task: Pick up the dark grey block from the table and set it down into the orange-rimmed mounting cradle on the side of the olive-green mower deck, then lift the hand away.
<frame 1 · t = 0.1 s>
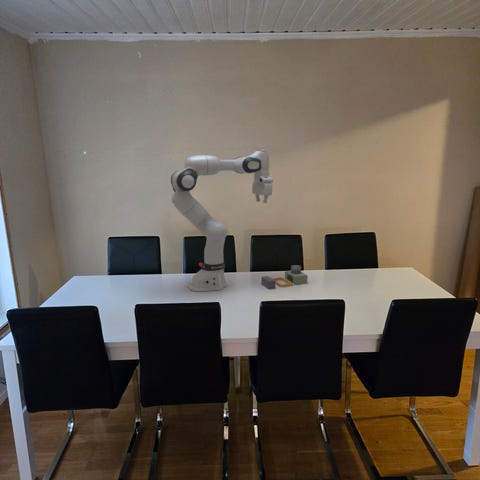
hand: (261, 202, 228), 48 cm above the table, tool pointing down, fingers open, 8 cm apart
dark grey block: (268, 286, 223), on the table
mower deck: (287, 282, 230), on the table
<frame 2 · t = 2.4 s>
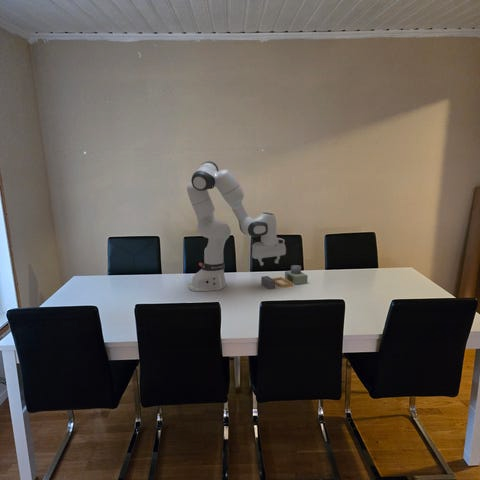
hand: (269, 264, 220), 13 cm above the table, tool pointing down, fingers open, 8 cm apart
nothing on the table moved.
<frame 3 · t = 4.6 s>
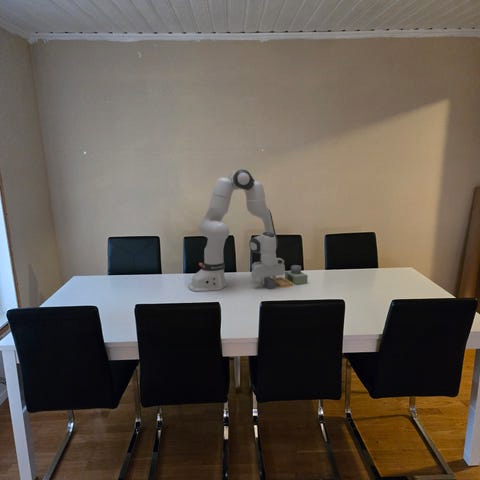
hand: (268, 283, 222), 2 cm above the table, tool pointing down, fingers closed on dark grey block, 4 cm apart
dark grey block: (268, 286, 223), on the table, touching gripper
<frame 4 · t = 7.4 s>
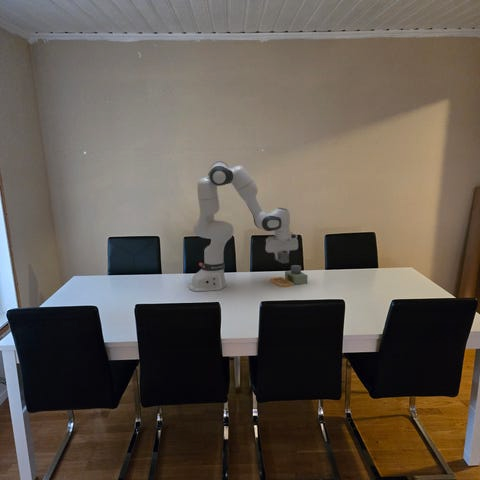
hand: (281, 258, 226), 15 cm above the table, tool pointing down, fingers closed on dark grey block, 4 cm apart
dark grey block: (281, 261, 226), point 14 cm above the table, touching gripper
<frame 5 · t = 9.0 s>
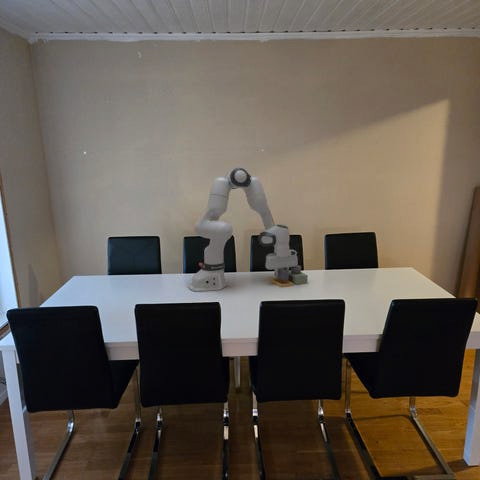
hand: (281, 274, 228), 5 cm above the table, tool pointing down, fingers closed on dark grey block, 4 cm apart
dark grey block: (281, 277, 229), point 3 cm above the table, touching gripper
when the fingers open (4 cm above the table, at t = 10.2 s): dark grey block drops 2 cm, resting in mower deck.
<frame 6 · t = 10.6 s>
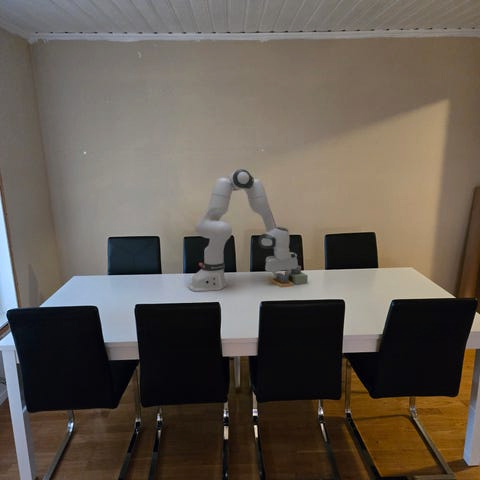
hand: (281, 277, 228), 4 cm above the table, tool pointing down, fingers open, 6 cm apart
dark grey block: (281, 283, 229), resting in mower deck
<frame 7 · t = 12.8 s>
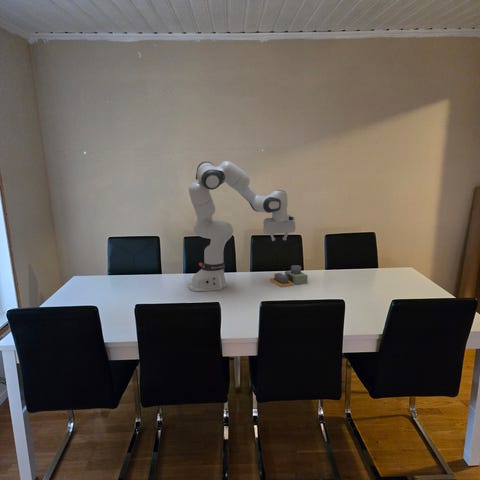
hand: (279, 240, 229), 25 cm above the table, tool pointing down, fingers open, 6 cm apart
nothing on the table moved.
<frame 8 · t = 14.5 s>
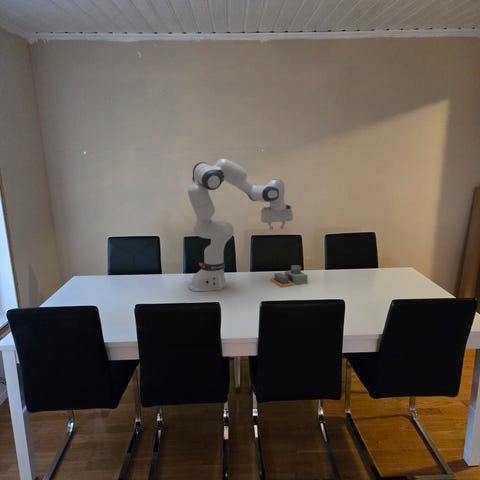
hand: (276, 229, 233), 31 cm above the table, tool pointing down, fingers open, 6 cm apart
nothing on the table moved.
at the end: dark grey block 0.1 cm from the target spot, resting in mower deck; dark grey block tilted 0°; the gripper is holding nothing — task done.
